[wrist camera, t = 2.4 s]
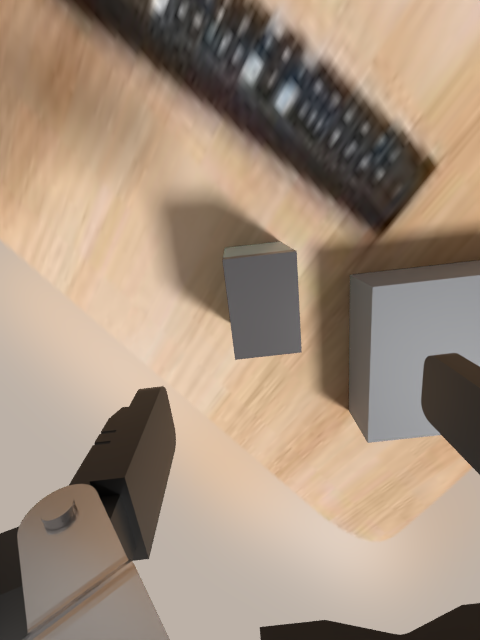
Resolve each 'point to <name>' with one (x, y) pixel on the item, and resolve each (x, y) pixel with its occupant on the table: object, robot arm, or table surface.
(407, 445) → the table surface
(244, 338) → the block
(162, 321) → the table surface
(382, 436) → the stand
